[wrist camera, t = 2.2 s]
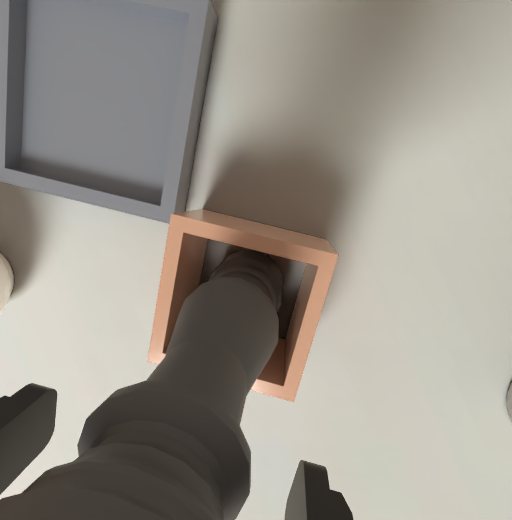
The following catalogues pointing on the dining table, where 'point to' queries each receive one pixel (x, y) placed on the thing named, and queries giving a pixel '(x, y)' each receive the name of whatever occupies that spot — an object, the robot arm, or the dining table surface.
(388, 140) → the dining table surface
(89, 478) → the candle holder
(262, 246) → the square copper bin
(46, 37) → the tray
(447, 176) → the dining table surface
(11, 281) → the lidded jar
